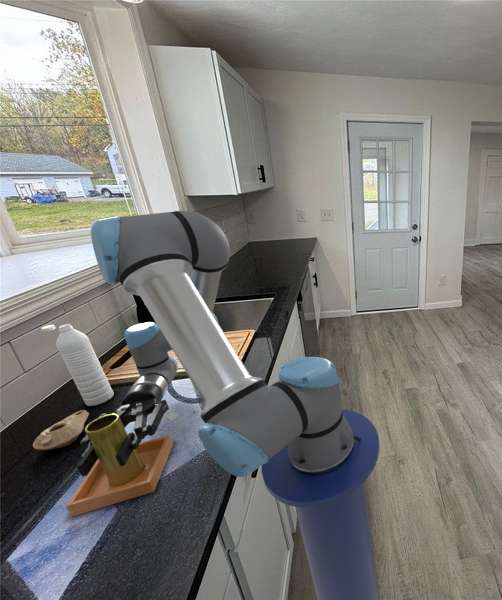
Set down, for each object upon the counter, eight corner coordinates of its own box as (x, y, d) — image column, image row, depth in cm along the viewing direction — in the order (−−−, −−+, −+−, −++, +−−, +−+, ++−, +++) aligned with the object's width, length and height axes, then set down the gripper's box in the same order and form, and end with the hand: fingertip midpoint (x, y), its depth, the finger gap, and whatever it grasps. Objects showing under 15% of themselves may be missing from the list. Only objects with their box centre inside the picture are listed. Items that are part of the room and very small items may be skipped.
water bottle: (119, 391, 98) (86, 319, 89) (103, 405, 92) (66, 329, 83) (89, 394, 97) (53, 322, 88) (71, 408, 91) (31, 332, 82)
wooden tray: (173, 444, 77) (169, 435, 76) (154, 491, 65) (149, 481, 64) (105, 462, 73) (100, 452, 72) (71, 516, 61) (65, 506, 60)
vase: (151, 463, 71) (128, 413, 66) (124, 488, 65) (97, 435, 60) (130, 460, 72) (106, 410, 67) (101, 484, 66) (73, 432, 61)
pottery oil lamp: (106, 415, 87) (99, 402, 83) (72, 460, 78) (63, 448, 74) (68, 411, 85) (60, 397, 81) (30, 456, 76) (17, 443, 72)
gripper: (190, 398, 86) (162, 464, 65) (108, 416, 80) (49, 496, 60) (181, 374, 83) (150, 436, 62) (96, 392, 77) (31, 467, 57)
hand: (101, 465), depth 61 cm, fingers closed on vase, 5 cm apart
